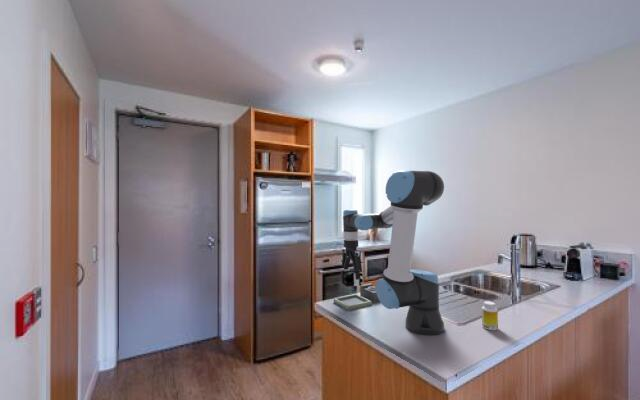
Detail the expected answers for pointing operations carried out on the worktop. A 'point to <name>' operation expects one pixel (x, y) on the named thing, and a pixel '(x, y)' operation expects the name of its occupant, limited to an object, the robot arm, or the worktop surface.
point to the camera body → (369, 292)
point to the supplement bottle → (489, 316)
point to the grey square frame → (352, 302)
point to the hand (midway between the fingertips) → (351, 283)
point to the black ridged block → (350, 278)
